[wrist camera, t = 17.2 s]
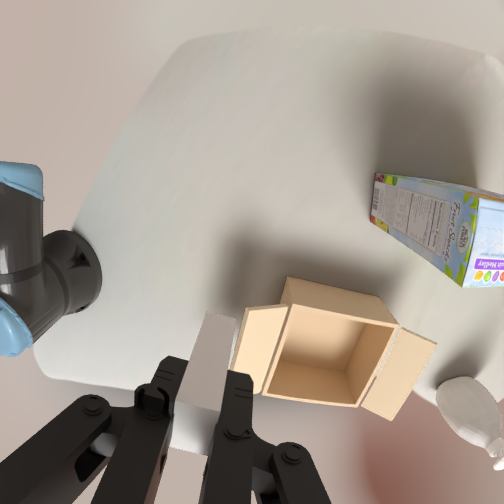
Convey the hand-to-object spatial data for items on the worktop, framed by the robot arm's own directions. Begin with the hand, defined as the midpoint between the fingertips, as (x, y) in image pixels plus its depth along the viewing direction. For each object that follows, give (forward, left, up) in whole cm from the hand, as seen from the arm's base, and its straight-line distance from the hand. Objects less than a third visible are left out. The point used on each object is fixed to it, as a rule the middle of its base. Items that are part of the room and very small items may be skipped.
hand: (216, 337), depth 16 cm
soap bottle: (+53, -23, -33) cm, 66 cm away
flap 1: (+5, -15, -21) cm, 26 cm away
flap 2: (+27, -15, -21) cm, 37 cm away
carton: (+16, -15, -32) cm, 39 cm away
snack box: (+28, +10, -33) cm, 44 cm away
